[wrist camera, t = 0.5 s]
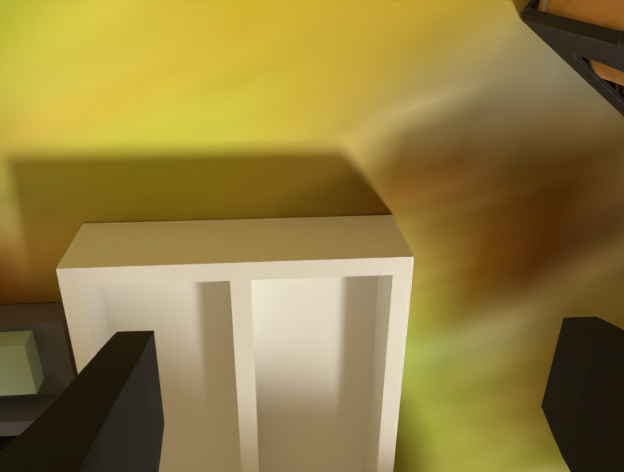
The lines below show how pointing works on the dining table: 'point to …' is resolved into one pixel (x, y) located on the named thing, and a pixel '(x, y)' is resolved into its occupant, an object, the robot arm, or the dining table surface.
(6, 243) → the dining table surface
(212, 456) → the trough tray
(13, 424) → the checker cradle
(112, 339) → the robot arm
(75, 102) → the dining table surface
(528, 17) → the ammunition clip
